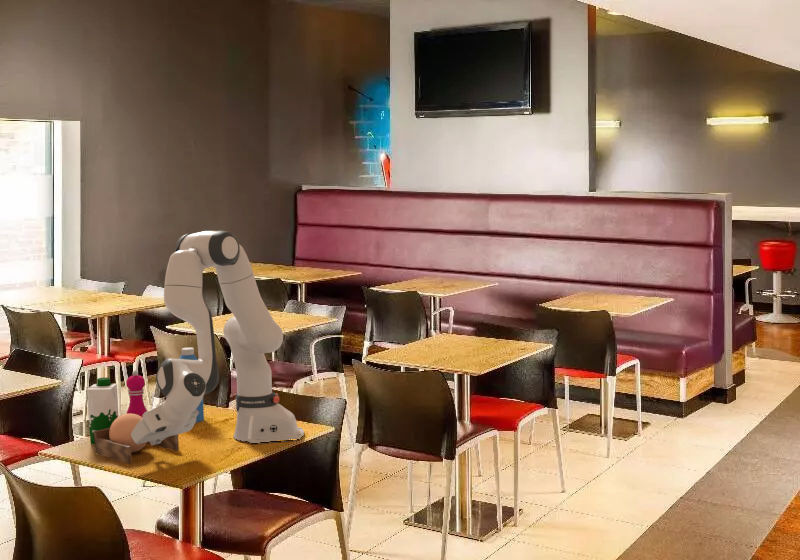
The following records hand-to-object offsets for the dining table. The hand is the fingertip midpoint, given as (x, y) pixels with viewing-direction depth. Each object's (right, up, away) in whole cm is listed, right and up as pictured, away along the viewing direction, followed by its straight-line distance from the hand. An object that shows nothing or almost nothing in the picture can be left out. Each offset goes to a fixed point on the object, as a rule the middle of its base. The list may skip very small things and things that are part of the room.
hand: (154, 442), depth 313 cm
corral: (-6, -4, +6) cm, 10 cm away
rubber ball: (-9, +2, +5) cm, 11 cm away
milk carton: (-20, -3, +19) cm, 28 cm away
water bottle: (+2, 0, +45) cm, 45 cm away
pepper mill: (-13, -1, +33) cm, 36 cm away
